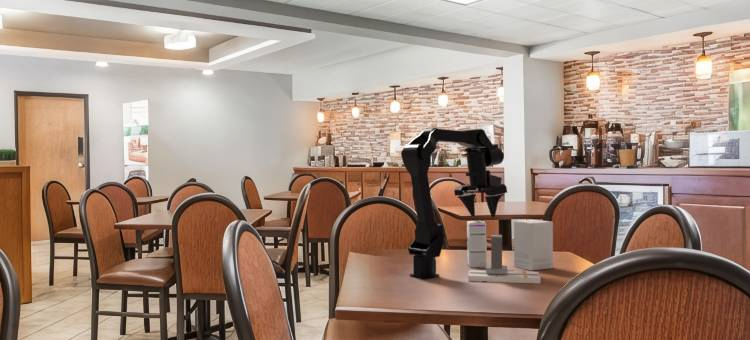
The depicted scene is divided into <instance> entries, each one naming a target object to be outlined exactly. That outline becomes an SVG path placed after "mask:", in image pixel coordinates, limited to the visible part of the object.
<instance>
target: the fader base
mask: <svg viewBox="0 0 750 340" xmlns="http://www.w3.org/2000/svg"><path fill="white" fill-rule="evenodd" d="M467 275H468V276H467V281H468V282H482V281H487V282H488V283H512V284H513V283H515V284H516V283H517V284H541V283H542V282H541V280H542V279H541V276H540V273H539V271H526V270H521V271H520V270H519V271H514V270H512V271H511V270H507V274H493V273H486V269H485V270H484V269H483V270H481V269H468V274H467ZM487 282H486V283H487Z"/></svg>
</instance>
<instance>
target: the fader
mask: <svg viewBox="0 0 750 340" xmlns="http://www.w3.org/2000/svg"><path fill="white" fill-rule="evenodd" d="M490 244H491V246H490V249H491V250H490V256H491V257H490V264H487V265H486V267H485V270H486V273H493V274H507V271H508V265H503V235H502V234H490Z"/></svg>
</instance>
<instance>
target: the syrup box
mask: <svg viewBox="0 0 750 340" xmlns="http://www.w3.org/2000/svg"><path fill="white" fill-rule="evenodd" d="M466 243H467V244H466V245H467V246H466V249H467V250H466V251H467V252H466V253H467V256H466V261H467V266H468V267H469V268H476V267H480V268H486V265H488V263H487V262H488V261H487V259H488V257H487V256H488V254H487V251H488V250H487V249H488V248H487V247H488V246H487V245H488V244H487V223H486V222H485V221H484V220H468V221H466Z"/></svg>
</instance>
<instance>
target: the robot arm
mask: <svg viewBox="0 0 750 340" xmlns="http://www.w3.org/2000/svg"><path fill="white" fill-rule="evenodd" d="M438 142H441V143H452V144H458V145H459V146H461V147H465V148H464V150H463V151H462V153H461V156H462V157H466V163H467V164H466V165H467V171H468V172H465V176H466V177H468V178H469V181H468V182H469V184H465V185H464V184H463V185H459V186H455V188H454V191H453V192H454V196H456V197H457V198H458V199H459V200H460V201H461V202H462V204H463V205H464V207H465V208H466V209H467V211H468V213H469V215H470V216H471V217H475V216H476V212H475V211H476V210H475V209H476V208H475V207H476V206H475V198H476V195H477V194H485V195H486V196H484V198H485V202H486V204H487V207H488V211H489V213H490V215H491V218H495V217H496V213H497V208H498V205H499V201H500V199H501V198H503V197H504V196H505V194H507V193H508V188H507V186H506V184H505V183H502V182H503V181H502V180H503V177H499V176H497V175H494V174H493V175H492V174H491V170H490V169H487V167H491V166H497V165H500V164H502V163H503V162H504V159H505V158H504V157H505V155H504V153H503V151H502V149H501V148H499V144H498V143H494V144H493V143H492V142H491V139H490V138H489V136H488V135H487V134H486V132H485V129H483V128H475V129H472V128H471V129H464V130H463V129H462V130H455V129H445V128H438V127H428V128H424V129H423V130H422V131H421V133H419V135H417V136H416V137H414V138H413V139H411V140H410V141H409V143H408V144H405V145H404V147H403V148H402V150H401V153H400V154H401V155H400V157H401V159H402V164H403V165H404V168H405V169H406V171H407V172H408V173H409V175H410V179H411V185H412V192H413V193H412V194H413V198H414V204H415V211H416V218H417V224H416V227H415V229H414V239H413V241H412V242H411V243H410V245H409V246H408V247H407V251H408V254H409V256H411V255H413V261H412V263H413V268H412V269H413V271H412V272H413V273H409V276H410V277H414V278H419V279H424V280H426V279H430V278H431V279H432V278H437V277H440V274H439V273H437V260H436V258H439V257H440V256H441V253H442V250H443V249H442V248H443V245H444V243H445V242H444V241H445V240H444V238H446V236H445V233H444V227H443V224H441V223H438V222H437V221H436V219H435V213H434V207H433V202H432V201H433V200H432V196H431V195H432V194H431V189H430V182H429V176H428V174H429V173H428V172H429V169H430V167H431V163H432V161H431V159H432V157H431V156H432V154H433V153H434V152H435V150H436V149H437V145H438V144H437V143H438Z"/></svg>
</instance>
